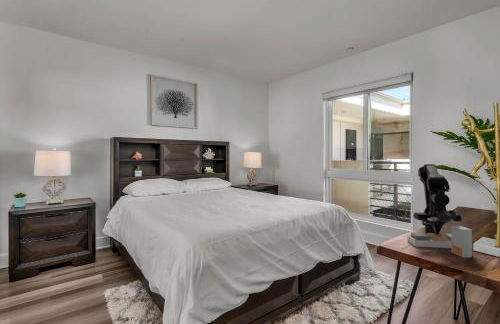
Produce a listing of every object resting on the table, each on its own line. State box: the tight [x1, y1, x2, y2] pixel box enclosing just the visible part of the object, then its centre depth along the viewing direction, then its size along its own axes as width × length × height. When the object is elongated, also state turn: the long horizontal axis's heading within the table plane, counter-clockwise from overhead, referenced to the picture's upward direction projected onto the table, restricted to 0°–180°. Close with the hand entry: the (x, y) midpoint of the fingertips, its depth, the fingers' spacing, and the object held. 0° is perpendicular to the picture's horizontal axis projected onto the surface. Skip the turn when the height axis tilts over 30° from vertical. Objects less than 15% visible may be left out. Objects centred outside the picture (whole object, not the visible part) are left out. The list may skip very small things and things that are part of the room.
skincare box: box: [450, 225, 473, 259], centre depth 112 cm, size 6×4×12 cm
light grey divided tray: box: [407, 234, 451, 249], centre depth 125 cm, size 8×23×3 cm, turn 79°
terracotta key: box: [427, 232, 448, 241], centre depth 125 cm, size 6×6×2 cm
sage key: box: [443, 233, 452, 241], centre depth 123 cm, size 6×6×2 cm
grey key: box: [410, 231, 430, 240], centre depth 126 cm, size 6×6×2 cm
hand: (437, 234), depth 125 cm, fingers closed
